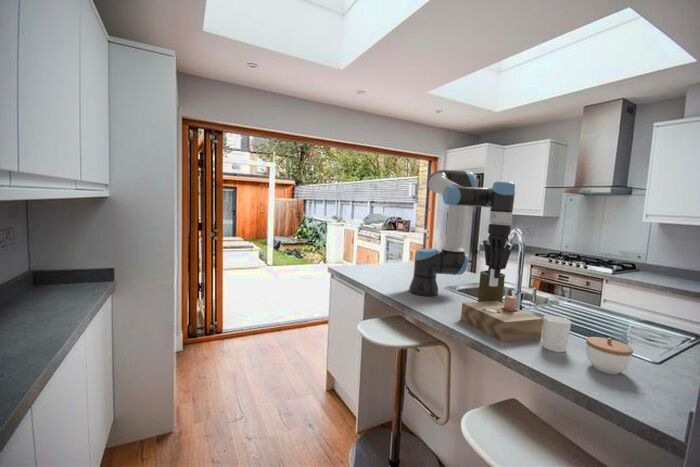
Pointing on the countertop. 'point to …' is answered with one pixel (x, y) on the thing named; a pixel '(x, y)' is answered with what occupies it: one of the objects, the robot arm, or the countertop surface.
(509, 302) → the terracotta plug
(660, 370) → the countertop surface
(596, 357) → the lidded jar
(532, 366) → the countertop surface
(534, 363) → the countertop surface
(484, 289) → the canister
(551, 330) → the white cup
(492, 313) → the white glossy ovoid
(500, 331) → the walnut block
